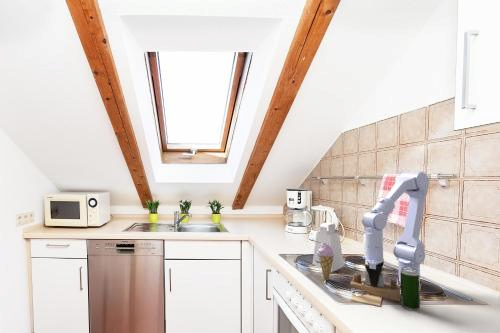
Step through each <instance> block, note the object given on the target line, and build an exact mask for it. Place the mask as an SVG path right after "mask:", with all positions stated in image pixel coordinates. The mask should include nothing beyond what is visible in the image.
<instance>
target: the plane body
mask: <svg viewBox="0 0 500 333" xmlns="http://www.w3.org/2000/svg"><path fill="white" fill-rule="evenodd" d="M349 286H350V288H355V289H360V290H365V291H367V292H368V294H369V295H373V296H378V297H382V299H387V300H390V301H391V300H392V301H396V302H401V287H400V285H398V284H397V280H396V279H390V283H388V282H384V288H380V287H374V286H369V285H365V278H362V275H361V274H360V273H353V277H352V279H351V281H350V284H349ZM350 288H349V289H350Z"/></svg>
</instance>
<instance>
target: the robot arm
mask: <svg viewBox="0 0 500 333" xmlns="http://www.w3.org/2000/svg"><path fill="white" fill-rule="evenodd" d="M394 181H395V183H394V184H393V186H392V187H391V189H390V191H389V192H388V193H387V195H386V196H385V197H381V198H379V199H378V201H377V202H376V204H375V205H374V206H373V207H372V209H371V210H370V211H368V212H366V213H365V214H364V215H363V216H362V219H361V224H362V225H363V229H364V231H365V233H366V256H365V255H362V259H363V260H365V259H366V260H367V262H368V264H369V265H368V264H365V263H364V267H365V268H364V269H366V270H367V272H368V275H369V279H370V283H371V286H378V282H379V275H380V273H381V272H382V271H383V269H384V268H383V266H384V264H385V259H384V239H383V238H384V237H383V235H384V231H383V230H384V229H385V228H386V226H387V223H388V222H387V221H388V218H389V216H390V215H391V213H392V212H393V211H394V210H395V208H396V204H395V203H396V202H397V201H398V200H399V199H400V197H401V196H402V195H403V194H404V193H405V194H407V196H408V197H409V200H408V206H407V212H406V218H405V223H404V229H403V234H402V235H401V236H399V237H397V239H396V242H395V244H394V246H393V248H392V249H393V250H392V253H393V255H394V256H395V258H396V261H398V277H399V281H400V282H401V275H400V271H401V268H402V267H410V268H414V269H417V270H418V271H419V275H420V276H421V265H422V263H424V261H425V259H426V251H425V247H426V246H425V244H424V243H423V242H422V241H421V240H420V233H421V229H422V228H421V227H422V223H423V222H422V221H423V216H424V210H425V204H426V196H427V195H428V191H429V185H430V178H429V177H428V175H427V174H426V172H423V171H420V172H417V171H416V172H403V171H402V172H399V173H398V174H397V176H396V177H395V179H394ZM366 270H365V271H366Z"/></svg>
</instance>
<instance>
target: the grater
mask: <svg viewBox="0 0 500 333" xmlns="http://www.w3.org/2000/svg"><path fill="white" fill-rule="evenodd" d="M314 242H315V243H314V250H313V256H312V257H313V258H312V264H314V265H316V266H318V267H320V268H321V265H320V263H317V262H320V260H319V259H318V256H317V252H318V250H317V249H320V248H321V245H323V244H324V245H327V243H328V244H330V245H331V247H332V248H333V255H334V257H333V263H332V267H331V271H330V273H333V272H335V271H338V270H340V269H342V268H344V267H345V264H344V259H343V252H342V245H341V238H340V233H339V232H336V224H335V223H332V222H324V223H321V224H320V225H319V231H318V232H316V234H315V241H314ZM320 268H319V269H320Z"/></svg>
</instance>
